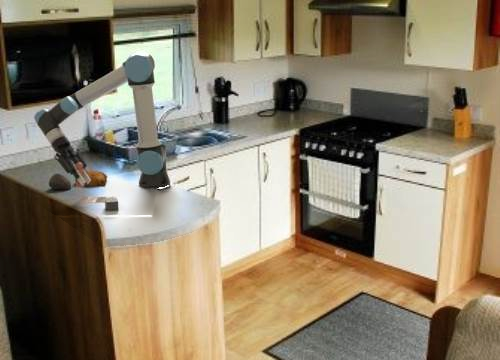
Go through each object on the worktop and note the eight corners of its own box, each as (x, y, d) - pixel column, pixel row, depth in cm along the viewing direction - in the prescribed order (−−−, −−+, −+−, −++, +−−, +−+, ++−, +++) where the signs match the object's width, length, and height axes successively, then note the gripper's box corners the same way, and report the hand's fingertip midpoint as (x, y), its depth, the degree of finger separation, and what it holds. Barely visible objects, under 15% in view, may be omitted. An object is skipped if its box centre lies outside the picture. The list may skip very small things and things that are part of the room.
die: (117, 208, 267) (116, 197, 265) (118, 212, 262) (118, 201, 261) (105, 209, 265) (104, 198, 264) (106, 213, 261) (106, 202, 259)
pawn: (85, 184, 275) (84, 161, 272) (83, 187, 271) (82, 163, 268) (77, 184, 275) (75, 161, 272) (75, 187, 271) (74, 163, 268)
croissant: (92, 194, 293) (92, 178, 290) (69, 184, 301) (69, 169, 298) (114, 186, 305) (114, 171, 302) (92, 177, 312) (92, 162, 309)
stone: (70, 193, 299) (56, 177, 300) (77, 183, 294) (63, 167, 294) (55, 201, 291) (41, 185, 292) (62, 191, 286) (48, 175, 287)
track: (115, 198, 280) (115, 196, 280) (113, 204, 272) (113, 202, 272) (80, 198, 279) (79, 196, 278) (76, 204, 271) (76, 202, 271)
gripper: (68, 142, 283) (95, 183, 279) (40, 148, 270) (68, 191, 266) (75, 132, 278) (103, 174, 275) (47, 138, 266) (76, 182, 262)
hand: (86, 182), depth 270 cm, fingers closed on pawn, 2 cm apart
